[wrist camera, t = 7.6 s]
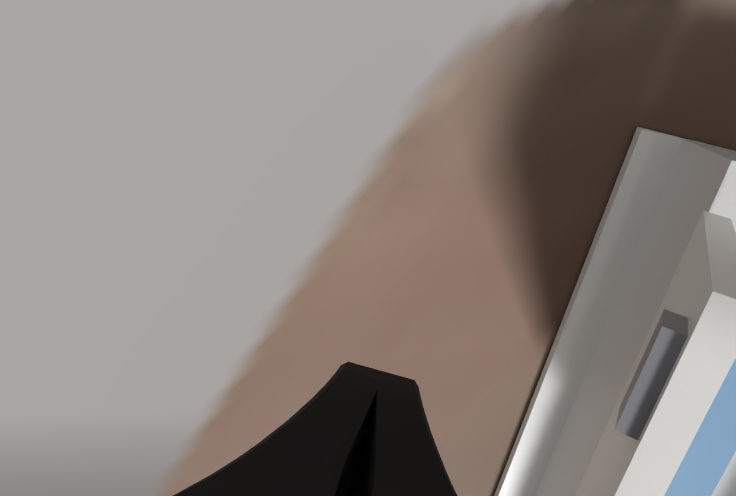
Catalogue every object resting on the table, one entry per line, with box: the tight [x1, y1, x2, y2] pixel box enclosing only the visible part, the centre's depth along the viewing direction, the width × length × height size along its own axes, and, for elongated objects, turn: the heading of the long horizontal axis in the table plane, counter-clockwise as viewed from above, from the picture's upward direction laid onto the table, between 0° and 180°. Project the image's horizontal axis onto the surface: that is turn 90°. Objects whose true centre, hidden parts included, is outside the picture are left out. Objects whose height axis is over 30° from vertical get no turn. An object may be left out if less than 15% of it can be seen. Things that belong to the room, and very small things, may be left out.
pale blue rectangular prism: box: [664, 358, 736, 496], centre depth 15 cm, size 2×7×2 cm, turn 167°
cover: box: [575, 210, 736, 496], centre depth 11 cm, size 6×9×1 cm
